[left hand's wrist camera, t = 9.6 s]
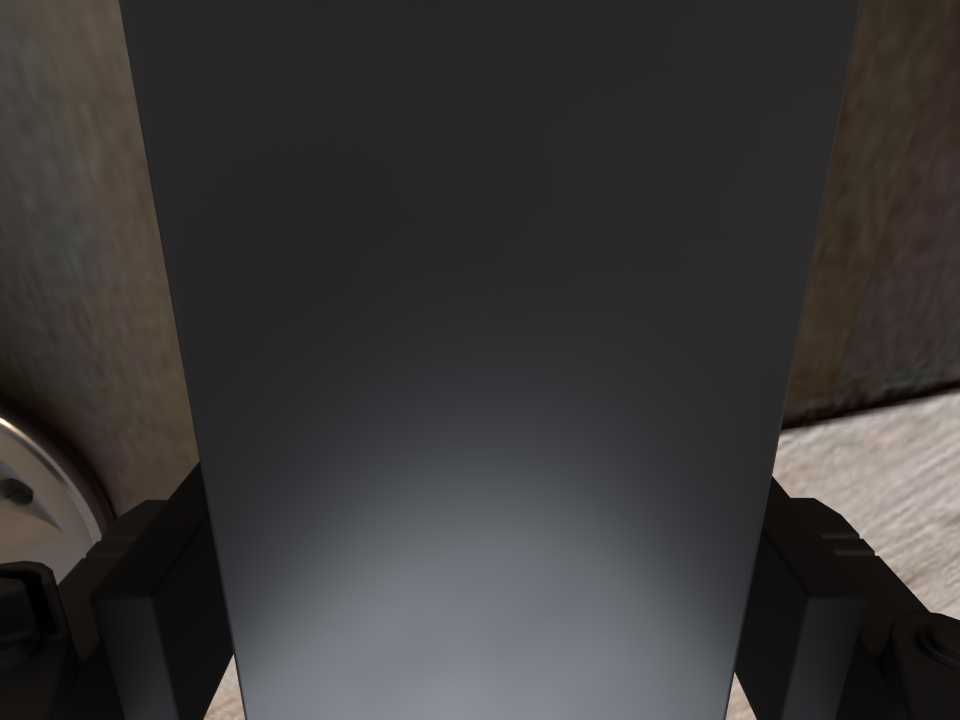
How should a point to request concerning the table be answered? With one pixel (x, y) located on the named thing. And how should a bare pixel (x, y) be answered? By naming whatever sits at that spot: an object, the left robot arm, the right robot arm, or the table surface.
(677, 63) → the bar
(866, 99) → the table surface
